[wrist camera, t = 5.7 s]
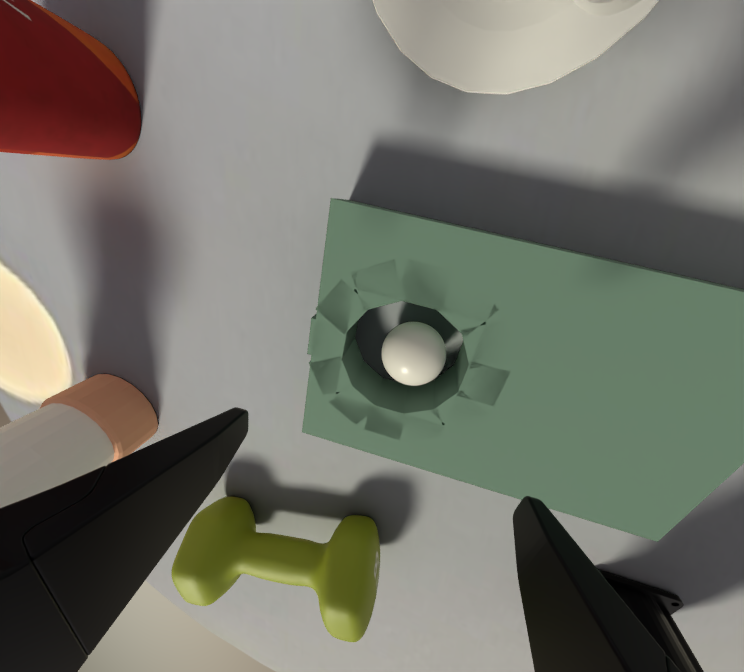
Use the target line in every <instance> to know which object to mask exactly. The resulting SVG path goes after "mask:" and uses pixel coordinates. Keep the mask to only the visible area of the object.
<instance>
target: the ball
mask: <svg viewBox="0 0 744 672" xmlns="http://www.w3.org/2000/svg"><path fill="white" fill-rule="evenodd" d="M382 361H383V364H384V367H385V369H386V370H387V372H388V373H389V375H390V376H391V377H392V378H394V379H395V380H396V381H398V382H400V383H402V384H405V385H411V386H418V385H423V384H426V383H428V382H430V381H432V380H433V379H435V378H436V377H437V376H438V375H439V373H440V372H441V371H442V369H443V367H444V364H445V361H446V347H445V344H444V341H443V339H442V337H441V336H440V334H439V333H438V332H437V331H436V330H435V329H434V328H432V327H431V326H429V325H427V324H424V323H421V322H406V323H403V324H400V325H398V326H397V327H395V328H394V329H393V330H391V331H390V332H389V334H388V335H387V336H386V338H385V340H384V342H383V346H382Z"/></svg>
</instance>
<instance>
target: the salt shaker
mask: <svg viewBox="0 0 744 672" xmlns="http://www.w3.org/2000/svg"><path fill="white" fill-rule="evenodd" d="M157 426H158V422H157V416H156V413H155V411H154V409H153V407H152V405H151V404H150V402H149V401H148V400H147V399H146V397H145V396H144V395H143V394H142V393H141V392H140V391H139V390H138V389H136V388H135V387H134V386H133V385H132V384H130V383H128V382H126V381H125V380H123V379H121V378H119V377H116V376H113V375H109V374H97V375H95V376H93V377H91V378H89V379H87V380H85V381H82V382H80V383H78V384H76V385H74V386H72V387H70V388H68V389H66V390H64V391H62V392H60V393H58V394H56V395H54V396H52V397H50V398H48V399H46V400H45V401H44V402H43V403H42V405H41V407H40V409H38V410H36V411H34V412H32V413H30V414H28V415H25V416H23V417H21V418H19V419H17V420H15V421H13V422H11V423H9V424H7V425H5V426H3V427H1V428H0V508H2V507H4V506H7V505H10V504H12V503H15V502H18V501H20V500H23V499H25V498H28V497H31V496H33V495H36V494H38V493H41V492H43V491H46V490H48V489H51V488H53V487H56V486H58V485H61V484H63V483H65V482H68V481H70V480H72V479H75V478H77V477H79V476H82V475H84V474H86V473H89V472H91V471H93V470H95V469H98V468H100V467H102V466H107V465H108V464H109V463H111V462H114V461H116V460H118V459H120V458H123V457H125V456H127V455H129V454H131V453H132V452H134V451H135V450H136V449H137V448H139V447H140V446H141V445H142V444H144V443H145V442H146V441H147V440H148V439H150V438H151V437H152V436H153V435H154V434H155V433H156V430H157Z"/></svg>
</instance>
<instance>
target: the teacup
mask: <svg viewBox="0 0 744 672" xmlns="http://www.w3.org/2000/svg"><path fill="white" fill-rule="evenodd" d="M658 1H659V0H373V3H374V6H375V9H376V12H377V14H378V16H379V18H380V19H381V21H382V22H383V24H384V26H385V27H386V29H387V30H388V32H389V34H390V35H391V37H392V38H393V40H394V41H395V43H396V45H397V46H398V48H399V49H400V51H401V52H402V53H403V54H404V55H405V56H407V57H408V58H409V59H410V60H411V61H412V62H413V63H415V64H416V65H417V66H418V67H419V68H420V69H421V70H422V71H424V72H425V73H426V74H427V75H428V76H429V77H430V78H432V79H435V80H437V81H440V82H442V83H445V84H447V85H450V86H452V87H454V88H457V89H459V90H462V91H464V92H469V93H487V94H510V93H514V92H518V91H522V90H526V89H530V88H534V87H538V86H542V85H546V84H550V83H552V82H554V81H556V80H557V79H559V78H561V77H563V76H565V75H567V74H569V73H570V72H572V71H574V70H576V69H578V68H580V67H582V66H583V65H585V64H587V63H589V62H591V61H593V60H595V59H596V58H598V57H599V56H600V55H601V54H602V53H604V52H605V51H606V50H607V49H608V48H610V47H611V46H612V45H613V44H614V43H615V42H617V41H618V40H619V39H620V38H621V37H623V36H624V35H625V34H626V33H627V32H629V31H630V30H631V29H632V28H633V27H634V26H636V25H637V24H638V23H639V22H640V21H642V20H643V19H644V18H645V17H646V16H647V14H648V13H649V12H650V11H651V10H652V8H653V7H654V6H655V5H656V4H657V2H658Z"/></svg>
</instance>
